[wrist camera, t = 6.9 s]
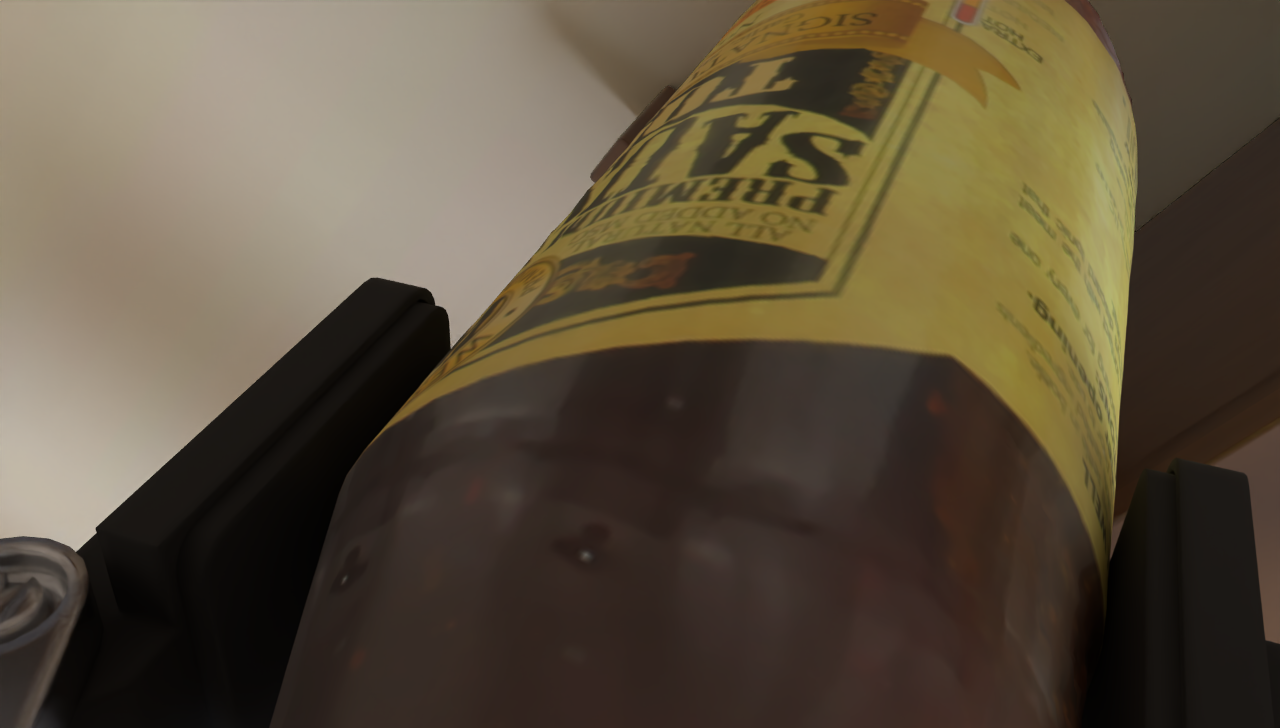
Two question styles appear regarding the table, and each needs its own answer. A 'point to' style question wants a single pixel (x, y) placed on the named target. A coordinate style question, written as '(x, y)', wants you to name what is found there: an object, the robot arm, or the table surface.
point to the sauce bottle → (773, 408)
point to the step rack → (1195, 339)
